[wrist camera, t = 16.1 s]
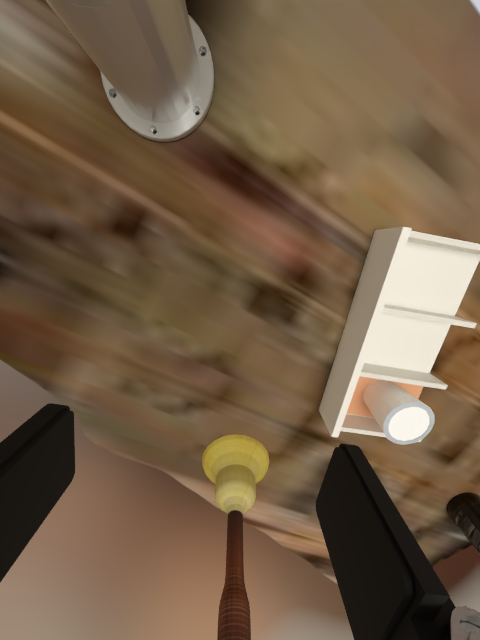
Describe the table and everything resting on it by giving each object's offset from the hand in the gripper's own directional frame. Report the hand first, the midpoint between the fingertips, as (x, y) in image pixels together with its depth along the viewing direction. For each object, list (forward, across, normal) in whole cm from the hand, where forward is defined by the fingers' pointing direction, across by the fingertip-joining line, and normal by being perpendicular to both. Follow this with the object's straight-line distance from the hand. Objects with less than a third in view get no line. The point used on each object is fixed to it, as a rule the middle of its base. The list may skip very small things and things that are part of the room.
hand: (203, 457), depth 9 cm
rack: (+28, -26, +2) cm, 38 cm away
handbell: (+28, -6, +30) cm, 42 cm away
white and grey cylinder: (+27, -26, +11) cm, 40 cm away
